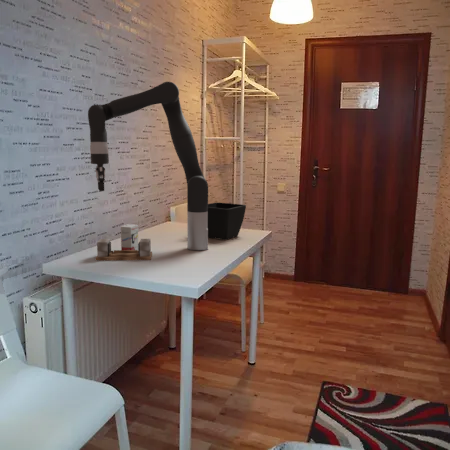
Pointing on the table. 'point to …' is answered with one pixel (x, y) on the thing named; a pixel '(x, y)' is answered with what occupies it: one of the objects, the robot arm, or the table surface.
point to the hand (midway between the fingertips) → (101, 190)
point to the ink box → (129, 237)
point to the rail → (123, 251)
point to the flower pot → (225, 220)
